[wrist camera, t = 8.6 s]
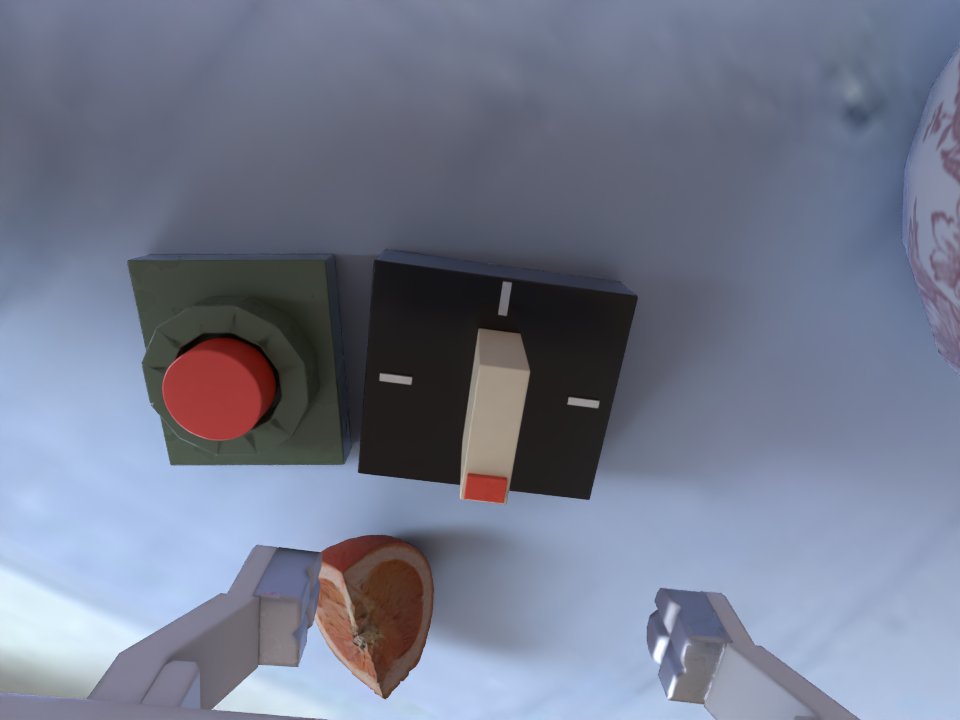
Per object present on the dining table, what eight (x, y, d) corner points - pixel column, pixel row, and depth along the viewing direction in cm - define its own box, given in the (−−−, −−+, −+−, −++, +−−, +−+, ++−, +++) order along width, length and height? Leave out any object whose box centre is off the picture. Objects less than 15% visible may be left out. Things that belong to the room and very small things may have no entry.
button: (281, 422, 25) (267, 441, 23) (191, 422, 25) (171, 441, 23) (270, 336, 23) (254, 350, 22) (175, 336, 23) (152, 350, 22)
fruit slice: (448, 619, 33) (443, 696, 28) (336, 634, 33) (313, 713, 28) (419, 498, 30) (409, 561, 25) (298, 516, 30) (265, 581, 25)
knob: (478, 327, 24) (479, 366, 19) (520, 333, 24) (531, 373, 19) (461, 443, 25) (459, 503, 21) (501, 447, 25) (506, 508, 21)
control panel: (369, 442, 29) (356, 475, 26) (385, 248, 25) (373, 260, 22) (578, 467, 29) (590, 502, 26) (620, 281, 26) (639, 297, 23)
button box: (352, 448, 29) (336, 485, 25) (186, 449, 29) (149, 486, 25) (335, 253, 25) (314, 267, 22) (148, 254, 25) (99, 267, 22)
